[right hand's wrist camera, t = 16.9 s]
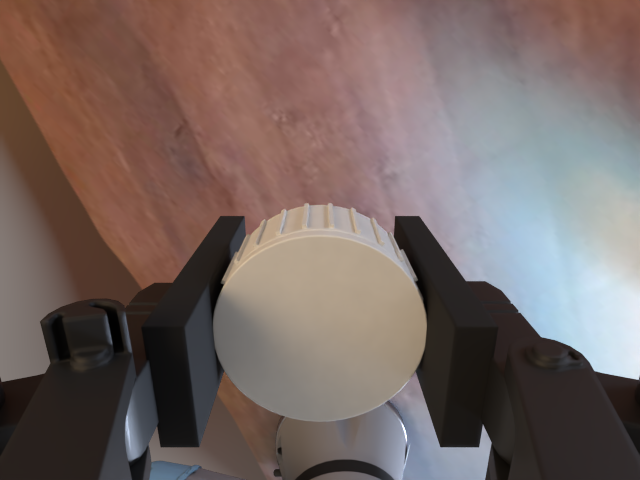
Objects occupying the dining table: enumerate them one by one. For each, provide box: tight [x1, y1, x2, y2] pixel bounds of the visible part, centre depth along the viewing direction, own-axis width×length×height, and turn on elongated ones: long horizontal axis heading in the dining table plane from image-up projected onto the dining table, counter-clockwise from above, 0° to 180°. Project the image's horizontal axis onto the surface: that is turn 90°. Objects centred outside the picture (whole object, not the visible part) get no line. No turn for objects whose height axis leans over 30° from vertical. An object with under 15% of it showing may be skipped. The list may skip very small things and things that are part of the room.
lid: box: [213, 203, 427, 422], centre depth 11 cm, size 5×5×2 cm
